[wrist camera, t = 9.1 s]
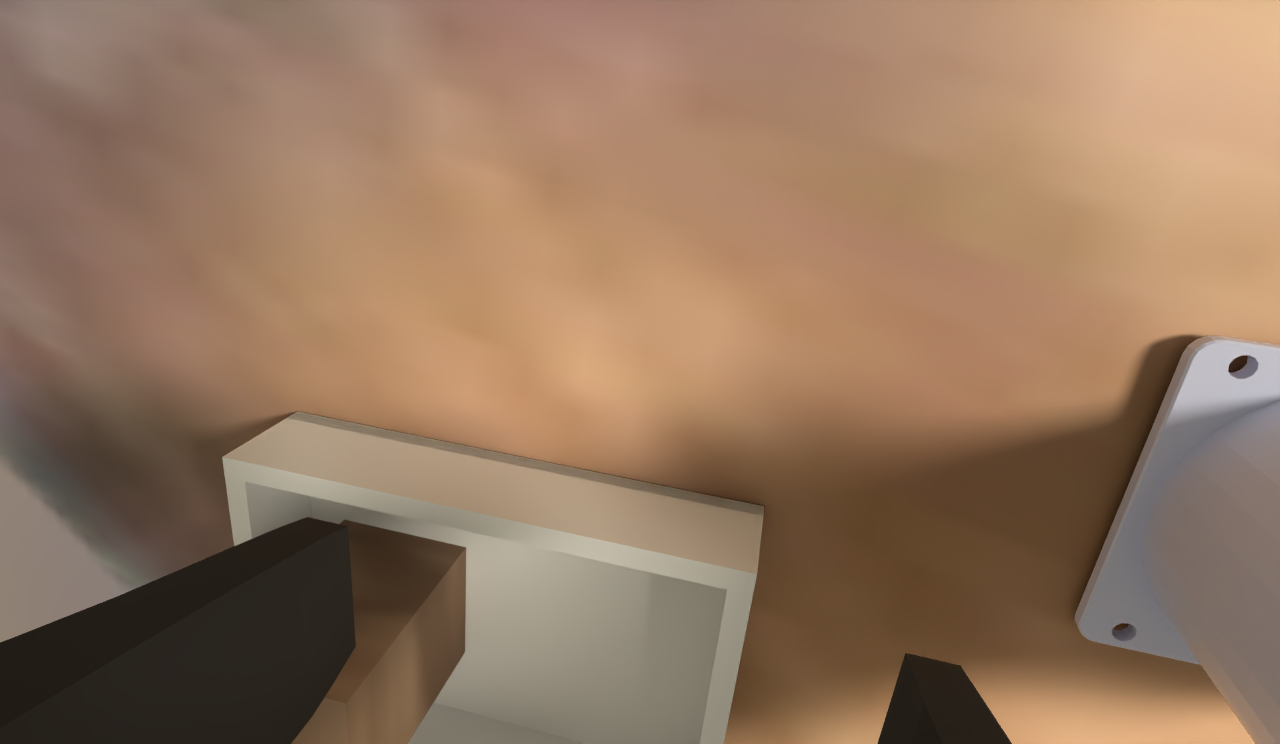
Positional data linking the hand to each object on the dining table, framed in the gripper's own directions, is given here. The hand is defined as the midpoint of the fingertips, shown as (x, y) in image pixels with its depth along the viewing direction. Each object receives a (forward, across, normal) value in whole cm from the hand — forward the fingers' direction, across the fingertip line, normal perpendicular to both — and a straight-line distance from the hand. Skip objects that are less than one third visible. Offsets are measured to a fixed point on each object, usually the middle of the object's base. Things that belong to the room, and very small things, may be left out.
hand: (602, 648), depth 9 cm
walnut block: (+9, +8, +8) cm, 15 cm away
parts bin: (+10, +5, +8) cm, 14 cm away
